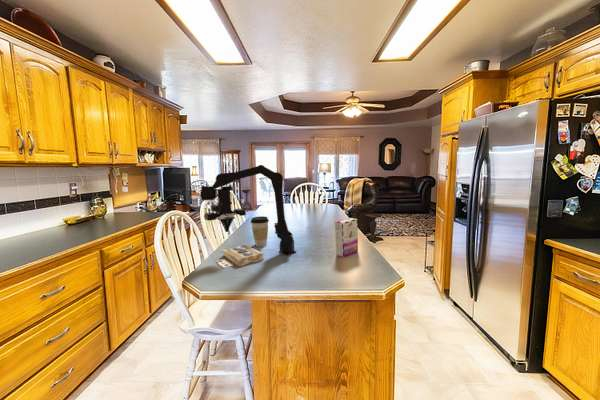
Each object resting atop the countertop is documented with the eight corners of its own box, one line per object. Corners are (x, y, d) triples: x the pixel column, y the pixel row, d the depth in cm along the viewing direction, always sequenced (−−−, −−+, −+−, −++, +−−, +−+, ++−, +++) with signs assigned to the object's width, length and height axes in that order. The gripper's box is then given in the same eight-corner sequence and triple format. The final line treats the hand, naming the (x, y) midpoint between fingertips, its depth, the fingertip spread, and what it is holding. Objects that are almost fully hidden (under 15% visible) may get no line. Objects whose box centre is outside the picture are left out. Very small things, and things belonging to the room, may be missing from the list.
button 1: (239, 251, 135) (238, 246, 135) (241, 252, 133) (241, 247, 132) (233, 252, 133) (233, 247, 133) (236, 254, 131) (235, 249, 131)
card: (224, 259, 127) (224, 258, 127) (233, 265, 119) (233, 264, 119) (215, 262, 124) (214, 260, 124) (223, 268, 116) (223, 267, 116)
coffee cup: (255, 242, 154) (253, 216, 152) (271, 242, 153) (270, 216, 151) (249, 247, 145) (247, 219, 143) (267, 247, 143) (266, 219, 141)
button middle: (244, 252, 131) (243, 247, 130) (246, 253, 128) (246, 248, 128) (238, 253, 129) (237, 248, 128) (241, 255, 126) (240, 249, 126)
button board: (245, 250, 139) (245, 244, 139) (263, 259, 125) (263, 253, 125) (223, 255, 132) (222, 250, 132) (239, 266, 118) (238, 259, 118)
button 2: (249, 256, 126) (249, 251, 126) (252, 258, 124) (252, 253, 124) (243, 258, 125) (243, 253, 124) (246, 260, 122) (246, 254, 122)
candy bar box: (350, 249, 135) (349, 217, 133) (358, 252, 132) (358, 218, 129) (335, 255, 128) (334, 221, 126) (343, 257, 124) (342, 222, 122)
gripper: (235, 196, 141) (237, 226, 143) (199, 200, 129) (201, 232, 131) (245, 198, 132) (247, 229, 134) (207, 202, 121) (209, 236, 123)
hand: (226, 231), depth 131 cm, fingers closed
